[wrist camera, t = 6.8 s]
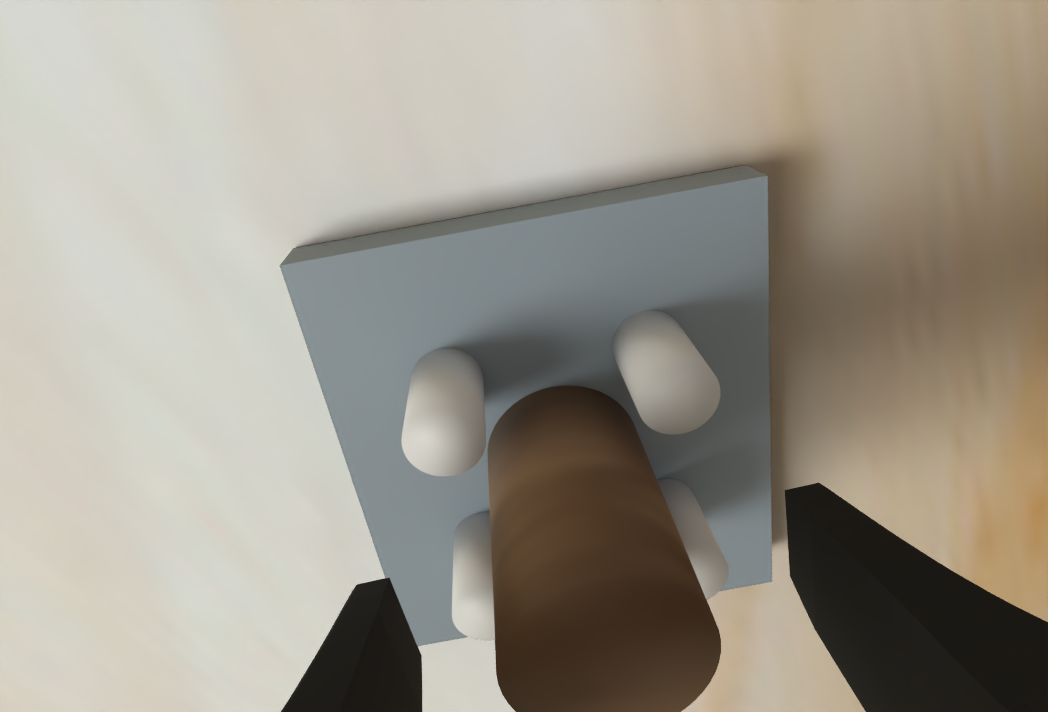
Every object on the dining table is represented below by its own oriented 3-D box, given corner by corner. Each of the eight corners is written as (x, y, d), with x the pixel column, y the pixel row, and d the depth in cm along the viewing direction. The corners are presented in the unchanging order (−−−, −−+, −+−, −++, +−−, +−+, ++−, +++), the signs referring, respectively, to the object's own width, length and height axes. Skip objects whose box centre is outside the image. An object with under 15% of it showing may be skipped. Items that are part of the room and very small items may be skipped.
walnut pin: (662, 408, 16) (759, 602, 11) (604, 526, 17) (665, 752, 12) (516, 367, 15) (542, 554, 10) (468, 494, 17) (467, 719, 11)
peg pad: (746, 164, 15) (826, 204, 12) (755, 551, 20) (813, 657, 16) (293, 248, 15) (243, 311, 12) (412, 613, 20) (401, 732, 16)
